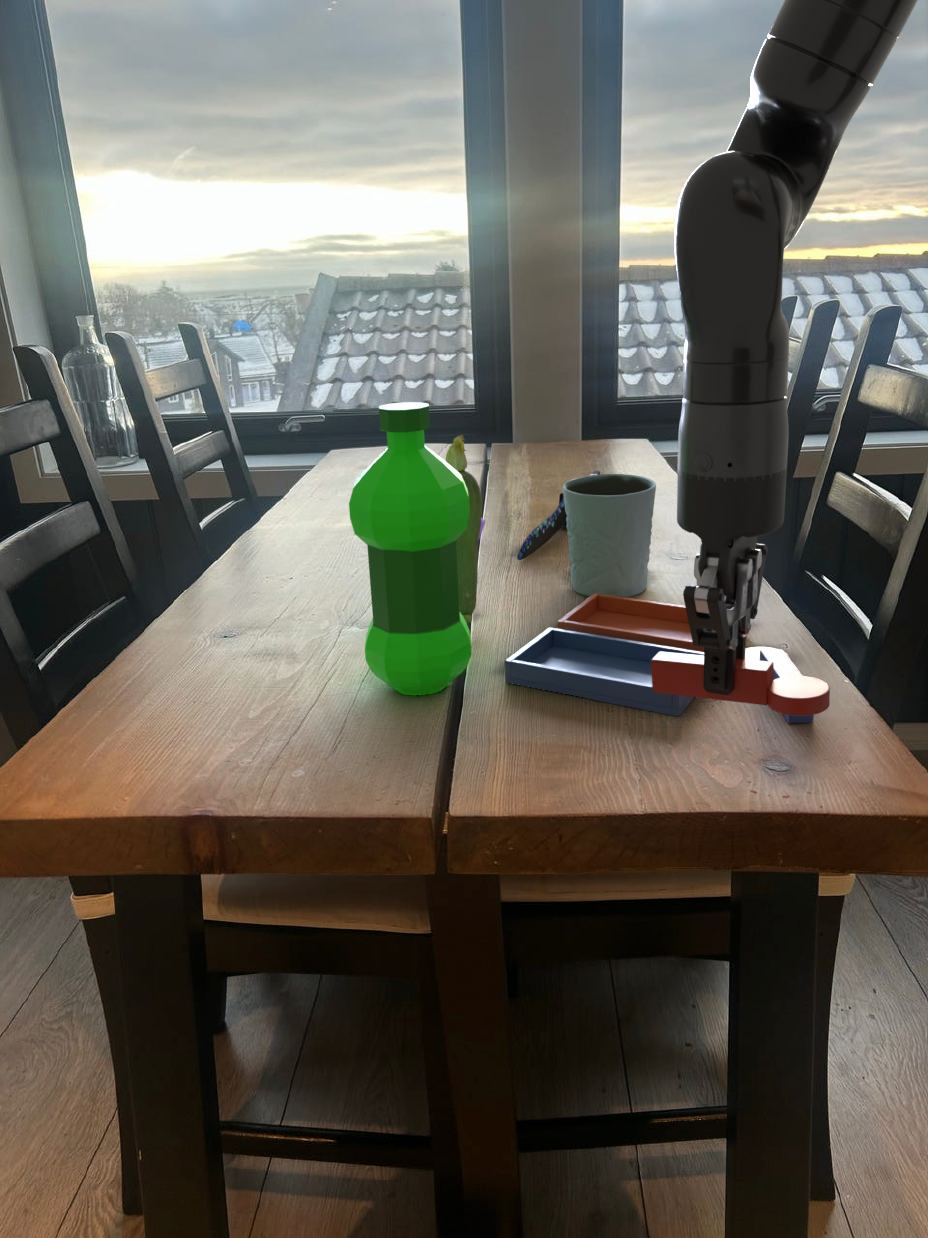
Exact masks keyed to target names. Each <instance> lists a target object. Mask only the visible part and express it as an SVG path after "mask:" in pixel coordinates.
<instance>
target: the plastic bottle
mask: <svg viewBox="0 0 928 1238" xmlns="http://www.w3.org/2000/svg"><path fill="white" fill-rule="evenodd" d="M378 419H379V430H380V431H381V432H386V443H387V444H386V445H387V447H386V449H384V450H383V451H382V452H381V453H380V454H379V455H378V456H377V457H376V458H375V459H374V460H373V461H372V462H371V463H370V464H369V465H368V466H367V467H366V468H365V469H364V470H363V471H362V472H361V473H360V475H358V477H357V478H356V479H355V480H354V485H353V488H352V491H351V494H350V499H349V502H348V509H349V510H348V511H349V519H350V523H351V526H352V530H353V533H354V535H355V536H357V537H358V538H359V539H360V540H361V541H362V542H363V543H364V544H366V545H367V556H368V557H367V559H368V569H369V582H370V583H369V584H370V596H371V611H372V618H371V621H370V623H369V625H368V629H367V632H366V637H365V643H364V655H365V658H364V659H365V662H366V664H367V665H368V667H369V669H370V672H371V673H373V674H374V675H375V676H376V678H378V679H379V680H381V681H383V682H384V683H385V684H387V685H389V686H390V687H392V690H394V691H396V692H398V693H400V694H401V693H402V694H401V695H405V696H416V695H420V696H419V697H422V696H421V695H423V696H427V695H426V694H428V695H432V694H438V693H440V692H441V691H443V690H444V689H443V688H445V687H446V688H448V687H449V686H448V685H449V684H450V683H451V682H453V681H455V680H456V679H457V677H459V676H460V675H462V673H463V672H464V671H465V670H466V669H467V667H468V665H469V663H470V660H471V658H472V639H471V632H470V631H471V630H470V628H469V625H468V624H467V623H466V621H465V619H464V617H463V616H462V614H461V613H460V611H459V594H458V572H457V549H456V540H457V539H458V538H459V537H460V536H461V535H462V533H463V532H464V531H465V530H466V529H467V526H468V520H469V514H470V508H469V495H468V489H467V487H466V484H465V482H464V480H463V477H462V475H461V474H460V473H459V472H457V471H456V470H455V469H454V468H453V467H452V466H451V465H449V464H448V463H447V462H446V459H444V458H442V456H440V455H439V454H437V453H436V452H435V451H434V450H432V449H430V448H429V447H428V446H426V445H425V444H426V443H425V430H428V429H431V424H430V403H426V402H421V401H419V402H418V401H403V402H394V403H393V402H392V403H387V404H381V405H379V406H378ZM447 686H448V687H447ZM446 688H445V689H446ZM442 689H443V690H442ZM439 691H440V692H439ZM437 692H438V693H437Z"/></svg>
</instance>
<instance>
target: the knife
mask: <svg viewBox="0 0 928 1238" xmlns="http://www.w3.org/2000/svg"><path fill="white" fill-rule="evenodd" d="M600 474H601V472H600V470H593V471H592V472H591V473H590V474H589V475H588V476H590V475H600ZM566 518H567V514H566V511H565V504H564V495H563V492H561V493H559V497H558V506H557V507H556V509H555V510H554V511H553V512H552V514H550V515H549V516H548V517H547V518H546V519H545V520H544V521H542V522H541V523H540V524H539V525H537V526H536V527H535V528H534V529H533V530H531V532H530V533H529V534H528V535H527V537H526V538H525V540H524V542H523V543H522V545H521V547H520V549H519V552H518V554H517V556H516V559H517V561H521V560H525V559H527V558H528V557H529V556H531V555H533V553H535V552H537V551H538V550H539V549H541V547H543V546H545V544H546V543H548V542H549V541H550V540H551V539H552V537H554V536H555V535H556V534H557V533H558V532H559V531H560V530H561V529H562V528H563V527H567V521H566Z"/></svg>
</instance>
